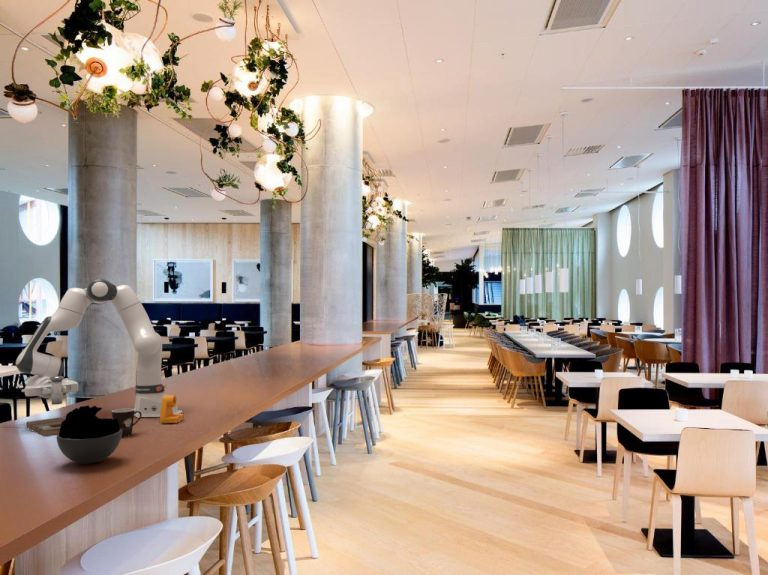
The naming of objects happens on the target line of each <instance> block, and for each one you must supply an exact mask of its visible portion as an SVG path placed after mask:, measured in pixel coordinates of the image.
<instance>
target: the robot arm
mask: <svg viewBox="0 0 768 575" xmlns="http://www.w3.org/2000/svg"><path fill="white" fill-rule="evenodd" d="M108 302H109V303H111V304H112V306H114V308H115V309H116V311H117V313H118V315H119V317H120V319H121V321H122V323H123V324H124V326H125V329H126V331H127V333H128V336H129V337H130V341H131V343H132V344H133V347H134V350H135V351H136V352H137V362H136V369H135V370H136V374H135V375H136V376H135V377H136V383H135V386H134V387H135V390H134V391H135V393H134V394H135V402H134V408H133V409H135V411H139V412H141V414H142V416H141V417H160V412H161V404H162V398H163V396H164V395H169V394H168V393H167V391H165V389H166V388H167V385H164V384H162V361H163V360H162V359H163V339H162V337H161V335H160V334H159V333H158V332H156V331H155V329H154V327H153V324H152V322H151V319H150V318H149V316H148V313H147V311H146V309H145V307H144V306H143V304H142V302H141V300H140V298H139V297H138V295H137V294H136V292H135V291H134V289H133V288H132V287H131V286H129V285H127V284H121V285H118V286H116V285H115V284H113V283H112V282H110V281H109V280H106V279H104V278H95V279H92V280H90V281H89V283H88V285H87V287H86V288H80V287H70V288H69V289H67V290H66V292H65V294H64V295H63V296H62V298H61V300H60V303H59V304H58V307H57V309H56V310H55V312H54V313H53V314H52V315H51V316H46V317H45V318H44V319H43V320H42V322H41V323H40V324H39V326H37V329H36V330H35V332H33V334H32V336H31V338H30V339H29V341H28V342H27V344H26V346H25V347H24V348H23V350H22V351H21V352H20V353H19V355H18V356H17V358H16V360H15V367H16V369H17V370H18V371H19V373H24V374H31V375H33V376H32V377H30V378H29V379H28V380H27V384H26V385H27V386H25V387H24V389H21V392H22V393H24V395H25V397H35V396H36V397H40V398H43V399H52V393H53V392H52V391H53V390H52V387H51V380H50V377H54V376H63V371H64V364H63V361H62V359H61V358H60V357H58V356H54V355H50V354H47V353H46V354H45V353H42V352H38V349H39V347H40V345H42V343H43V341H44V339H45V338H46V336H47V335H48V334H50V333H53V332H59V331H61V332H64V331H70V330H73V329H75V328H77V327H79V325H80V324H81V322H82V321H83V318H84V315H85V313H86V310H87V308H88V306H90V305H103V304H106V303H108ZM78 391H79V382H77V381H75V380H71V379H69V378H67V377H66V378H65V377H64V380H62V395H64V394H69V393H72V392H78ZM172 409H173V414H181V413H182V412H183V410H181V409H179V408H178V402H176V406H175V407H172ZM182 414H183V413H182ZM134 417H137V418H138V419H139V417H140V413H138V412H137V413H135V414H134ZM137 418H136V419H137Z"/></svg>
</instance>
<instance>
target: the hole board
mask: <svg viewBox="0 0 768 575" xmlns="http://www.w3.org/2000/svg"><path fill="white" fill-rule="evenodd" d="M65 419H66V418H64V417H54V418H47V419H39V420H31V421H30V420H29V421H26V422H25V424H26V425H25V427H27V428H26V429H28V428H29V429H28V430H30V429H31V431H32V430H33V431H32V432H34V431H35V433H36V432H37V434H38V433H39V435H41V436H43V437H49V436H50V437H52V436H57V435H58V434H59V431H60V428H61V423H62V422H63V421H64V420H65ZM51 435H52V436H51Z"/></svg>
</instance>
